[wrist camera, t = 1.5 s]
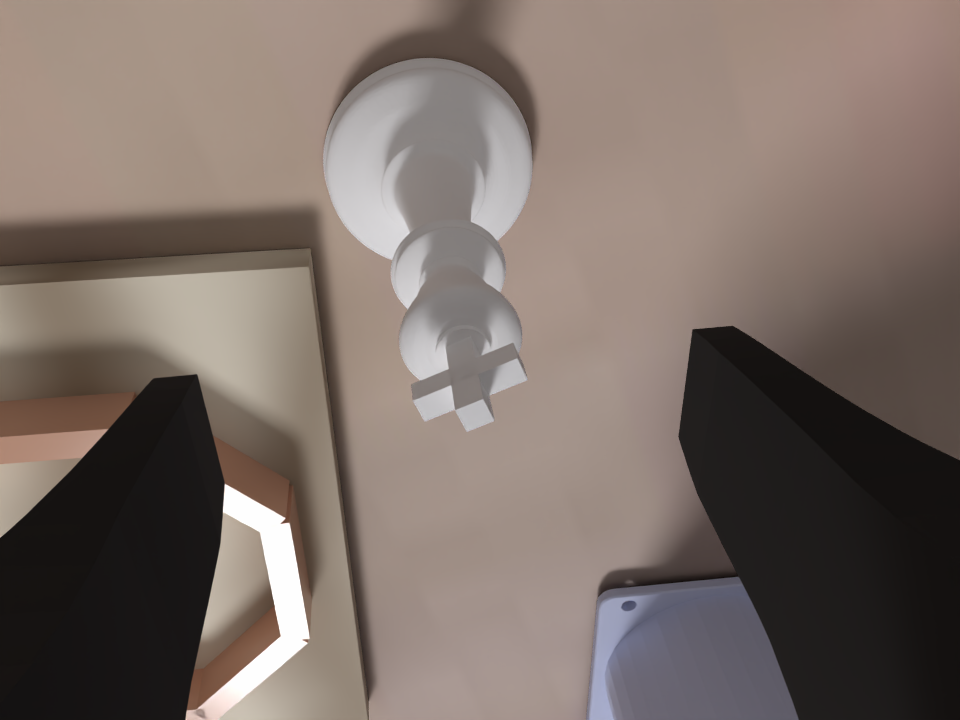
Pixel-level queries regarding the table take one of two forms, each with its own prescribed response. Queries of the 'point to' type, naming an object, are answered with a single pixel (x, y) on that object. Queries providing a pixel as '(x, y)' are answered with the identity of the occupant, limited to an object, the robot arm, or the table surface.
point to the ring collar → (247, 497)
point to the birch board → (233, 419)
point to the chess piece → (438, 219)
